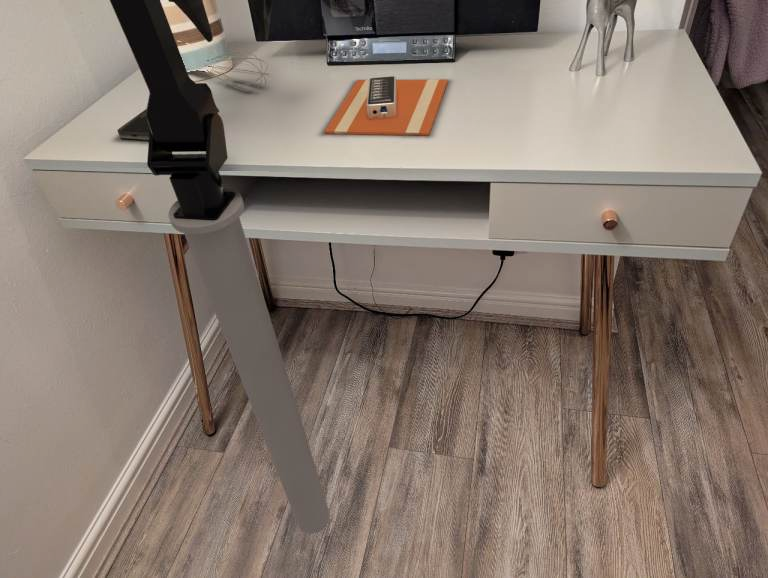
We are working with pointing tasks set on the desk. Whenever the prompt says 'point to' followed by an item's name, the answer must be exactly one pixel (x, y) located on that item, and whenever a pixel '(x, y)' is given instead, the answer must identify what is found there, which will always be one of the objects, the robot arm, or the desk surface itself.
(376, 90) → the multiport hub
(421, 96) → the towel
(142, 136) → the phone
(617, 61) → the desk surface
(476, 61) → the desk surface
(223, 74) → the kitchen whisk
